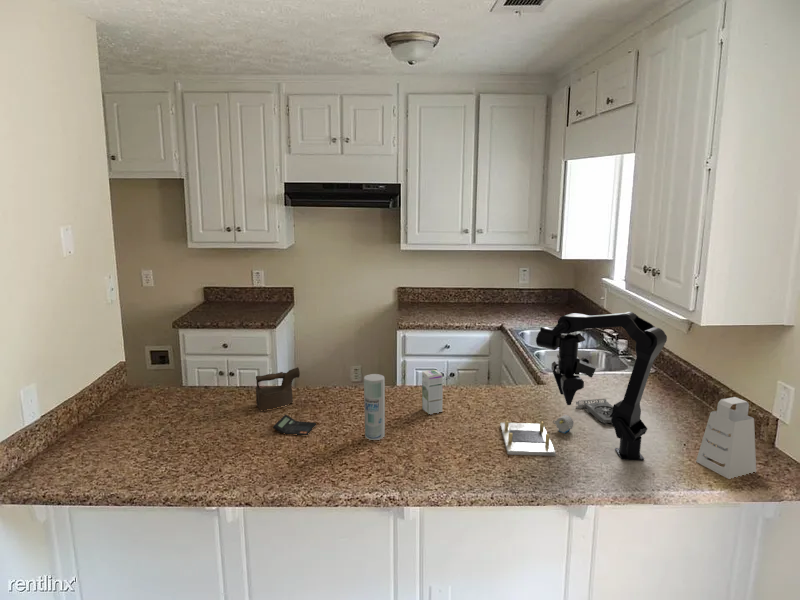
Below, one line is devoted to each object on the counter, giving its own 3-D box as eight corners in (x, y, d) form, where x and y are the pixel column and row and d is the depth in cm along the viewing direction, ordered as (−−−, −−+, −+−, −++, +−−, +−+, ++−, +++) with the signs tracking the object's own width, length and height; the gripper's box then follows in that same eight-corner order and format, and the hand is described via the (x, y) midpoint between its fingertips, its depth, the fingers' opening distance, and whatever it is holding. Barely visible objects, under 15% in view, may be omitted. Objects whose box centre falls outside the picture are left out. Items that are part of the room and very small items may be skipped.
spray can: (387, 433, 174) (387, 374, 170) (381, 442, 167) (380, 381, 164) (368, 431, 175) (367, 373, 171) (361, 439, 169) (360, 379, 165)
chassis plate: (555, 455, 159) (556, 442, 158) (507, 454, 160) (508, 441, 159) (542, 427, 178) (543, 415, 177) (500, 425, 179) (500, 414, 178)
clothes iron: (302, 405, 197) (301, 370, 194) (258, 412, 191) (256, 376, 188) (297, 398, 204) (296, 364, 201) (255, 404, 198) (253, 369, 195)
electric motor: (549, 430, 176) (550, 416, 175) (557, 426, 179) (558, 412, 178) (569, 437, 171) (570, 422, 170) (576, 432, 174) (577, 418, 173)
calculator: (306, 437, 172) (306, 428, 171) (273, 434, 174) (272, 425, 173) (317, 425, 181) (316, 416, 180) (284, 422, 183) (284, 414, 182)
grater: (695, 461, 155) (703, 396, 151) (722, 455, 159) (730, 391, 155) (729, 479, 146) (737, 410, 142) (756, 472, 149) (765, 404, 145)
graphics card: (574, 399, 194) (605, 397, 196) (574, 409, 195) (605, 406, 196) (596, 419, 178) (630, 416, 179) (596, 429, 179) (630, 426, 180)
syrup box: (443, 412, 190) (443, 373, 187) (427, 415, 188) (428, 375, 185) (436, 406, 195) (436, 368, 192) (421, 409, 193) (421, 370, 190)
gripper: (602, 362, 160) (599, 411, 163) (586, 345, 178) (583, 389, 181) (564, 361, 161) (562, 410, 164) (552, 344, 179) (549, 389, 182)
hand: (565, 399), depth 173 cm, fingers open, 9 cm apart
